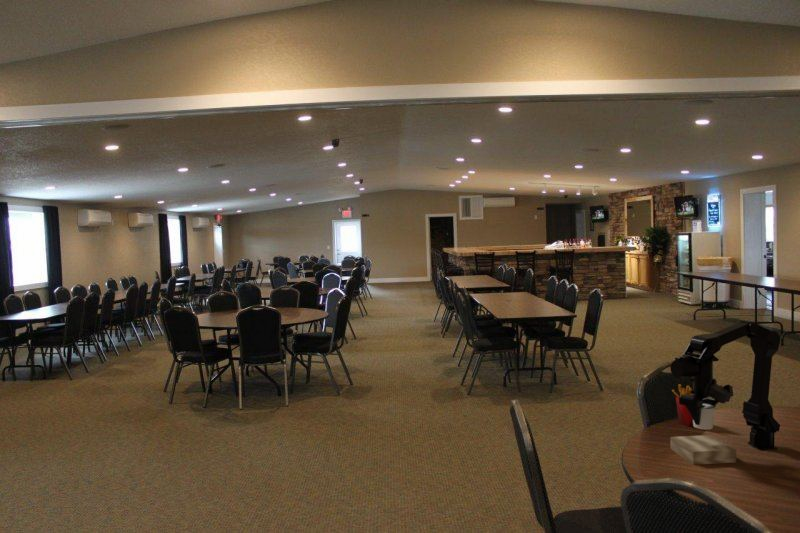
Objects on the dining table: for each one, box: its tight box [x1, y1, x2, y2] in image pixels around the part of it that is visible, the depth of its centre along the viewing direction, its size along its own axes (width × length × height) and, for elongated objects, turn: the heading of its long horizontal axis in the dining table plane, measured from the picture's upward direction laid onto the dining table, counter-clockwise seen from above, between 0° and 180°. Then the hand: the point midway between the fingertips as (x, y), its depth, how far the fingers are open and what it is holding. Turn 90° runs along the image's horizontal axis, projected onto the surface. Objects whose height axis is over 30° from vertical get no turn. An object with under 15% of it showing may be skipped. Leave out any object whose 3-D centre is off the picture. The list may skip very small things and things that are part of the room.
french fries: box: [671, 384, 694, 427], centre depth 228 cm, size 9×8×15 cm
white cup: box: [692, 403, 716, 430], centre depth 197 cm, size 7×7×7 cm
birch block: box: [669, 434, 737, 466], centre depth 197 cm, size 14×14×4 cm
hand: (702, 422), depth 197 cm, fingers closed on white cup, 6 cm apart
